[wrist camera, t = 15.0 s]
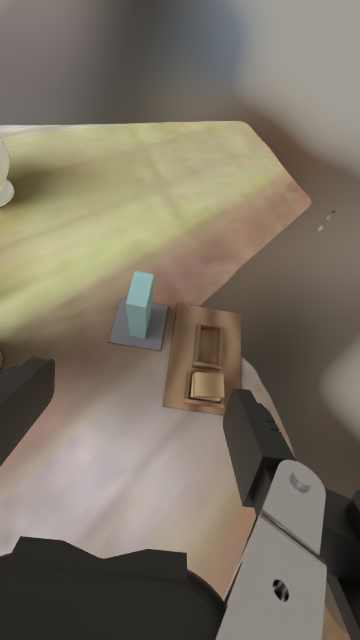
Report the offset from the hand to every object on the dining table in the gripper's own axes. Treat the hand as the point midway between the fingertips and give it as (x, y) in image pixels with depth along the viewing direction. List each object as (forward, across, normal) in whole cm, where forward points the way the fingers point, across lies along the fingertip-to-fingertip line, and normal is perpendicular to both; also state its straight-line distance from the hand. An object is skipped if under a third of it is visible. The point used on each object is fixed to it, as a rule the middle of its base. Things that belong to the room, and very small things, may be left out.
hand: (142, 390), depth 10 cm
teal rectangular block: (+35, +4, +10) cm, 37 cm away
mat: (+36, +4, +11) cm, 37 cm away
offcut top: (+26, -10, +16) cm, 32 cm away
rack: (+32, -10, +14) cm, 37 cm away
